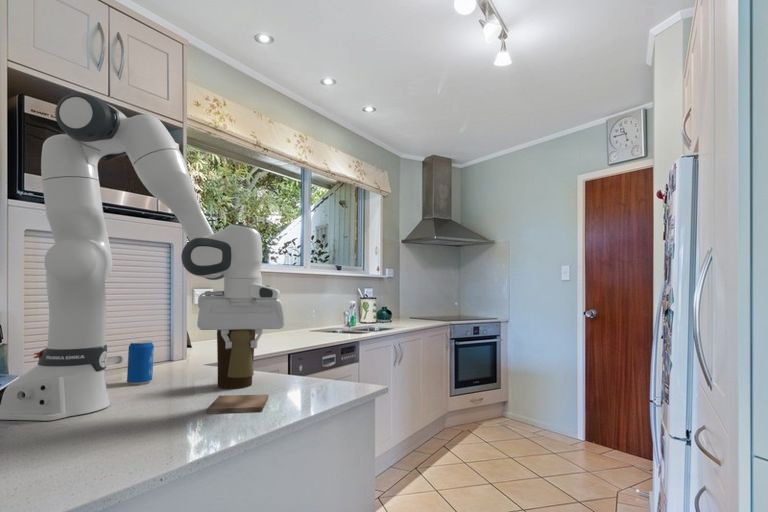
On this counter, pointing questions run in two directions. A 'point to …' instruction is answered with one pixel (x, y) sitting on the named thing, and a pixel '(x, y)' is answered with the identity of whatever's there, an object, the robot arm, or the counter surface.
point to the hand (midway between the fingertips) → (241, 348)
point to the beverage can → (140, 362)
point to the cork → (241, 354)
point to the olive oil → (224, 361)
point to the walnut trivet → (238, 403)
